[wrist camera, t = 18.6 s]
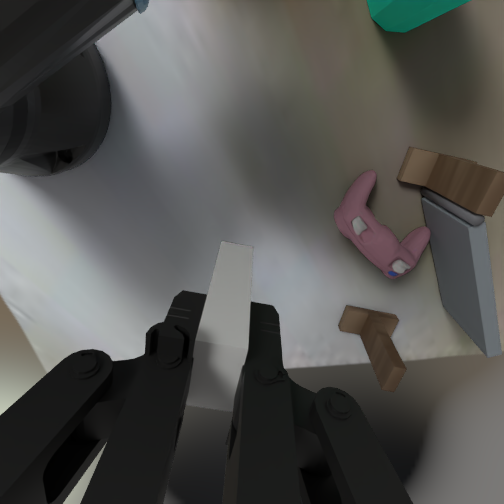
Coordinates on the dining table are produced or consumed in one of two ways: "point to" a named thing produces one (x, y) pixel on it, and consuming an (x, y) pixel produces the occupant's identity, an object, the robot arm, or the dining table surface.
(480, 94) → the dining table surface
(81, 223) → the dining table surface
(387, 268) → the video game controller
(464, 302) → the door
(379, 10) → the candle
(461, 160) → the brown bent pieces
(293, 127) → the dining table surface
